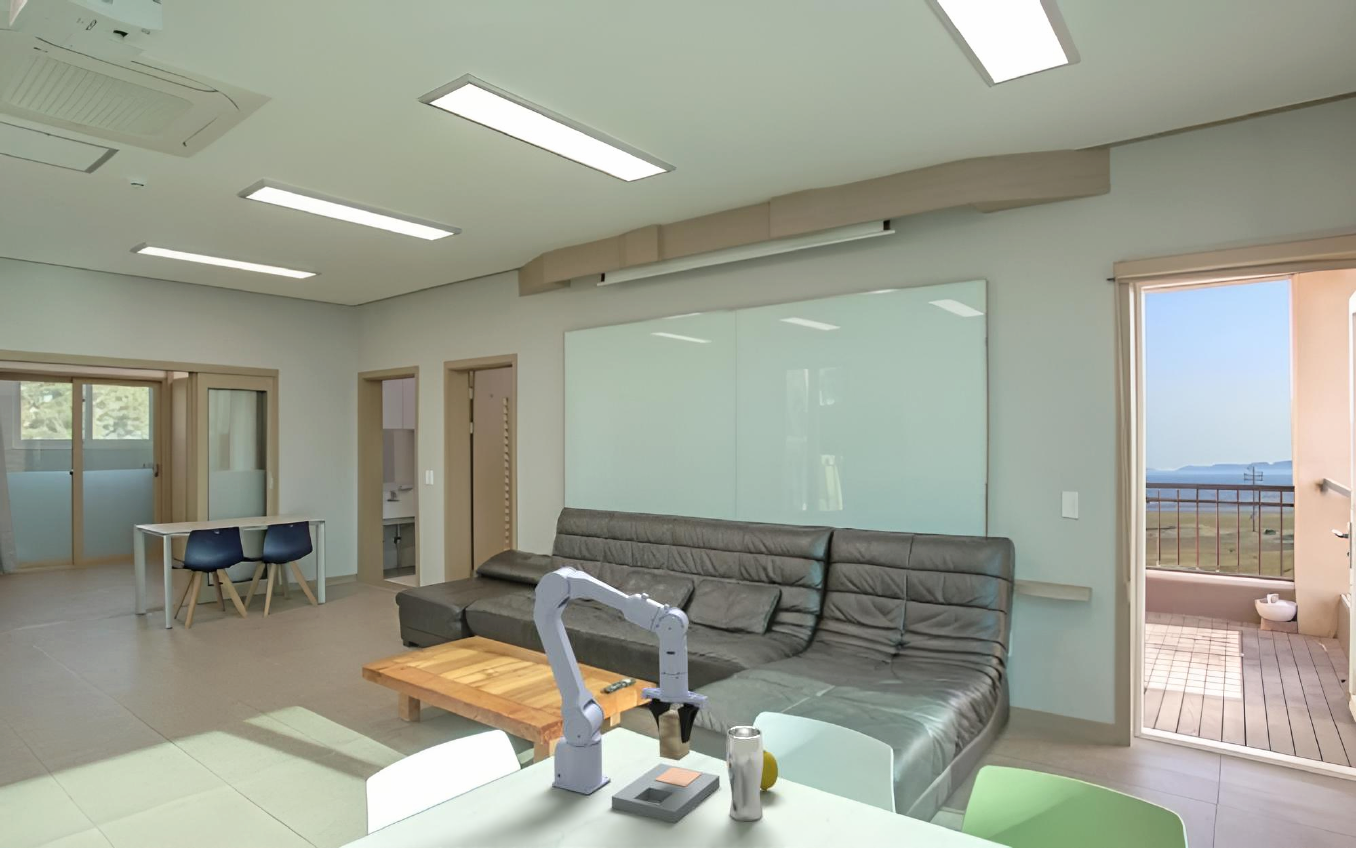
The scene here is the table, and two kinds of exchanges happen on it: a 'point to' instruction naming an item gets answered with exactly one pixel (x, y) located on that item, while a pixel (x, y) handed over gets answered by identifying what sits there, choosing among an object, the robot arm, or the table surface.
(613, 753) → the table surface
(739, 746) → the beer glass
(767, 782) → the lemon
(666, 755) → the peg
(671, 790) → the pocket board
